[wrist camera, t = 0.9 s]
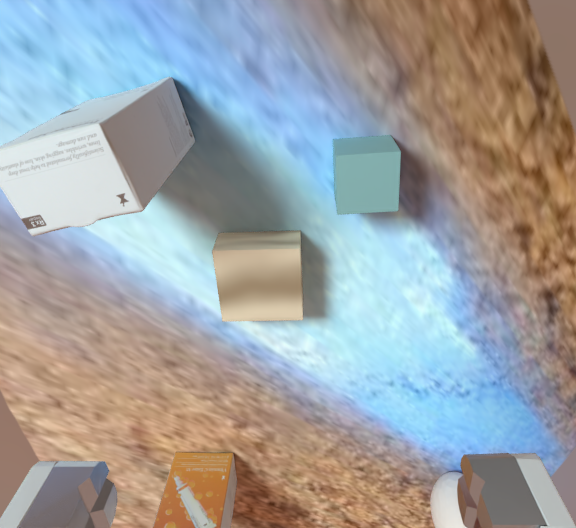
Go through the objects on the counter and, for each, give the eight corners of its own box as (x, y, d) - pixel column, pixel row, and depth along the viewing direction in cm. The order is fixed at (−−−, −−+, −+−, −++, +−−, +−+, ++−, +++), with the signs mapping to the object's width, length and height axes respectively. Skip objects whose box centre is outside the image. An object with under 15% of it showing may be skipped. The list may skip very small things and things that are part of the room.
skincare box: (173, 74, 38) (104, 113, 25) (198, 145, 41) (149, 212, 28) (82, 101, 39) (-28, 151, 26) (113, 168, 42) (28, 242, 29)
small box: (234, 451, 61) (217, 553, 50) (238, 481, 64) (223, 583, 53) (173, 450, 61) (144, 551, 50) (180, 480, 65) (154, 582, 53)
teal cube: (332, 138, 40) (335, 155, 36) (390, 134, 40) (400, 151, 35) (334, 192, 43) (337, 214, 38) (388, 189, 42) (398, 211, 38)
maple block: (219, 231, 45) (212, 250, 42) (300, 229, 45) (299, 248, 41) (228, 298, 49) (222, 321, 46) (303, 297, 49) (302, 320, 45)
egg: (416, 464, 61) (438, 557, 51) (472, 452, 60) (507, 545, 49) (430, 496, 65) (453, 590, 54) (483, 485, 63) (518, 579, 53)
